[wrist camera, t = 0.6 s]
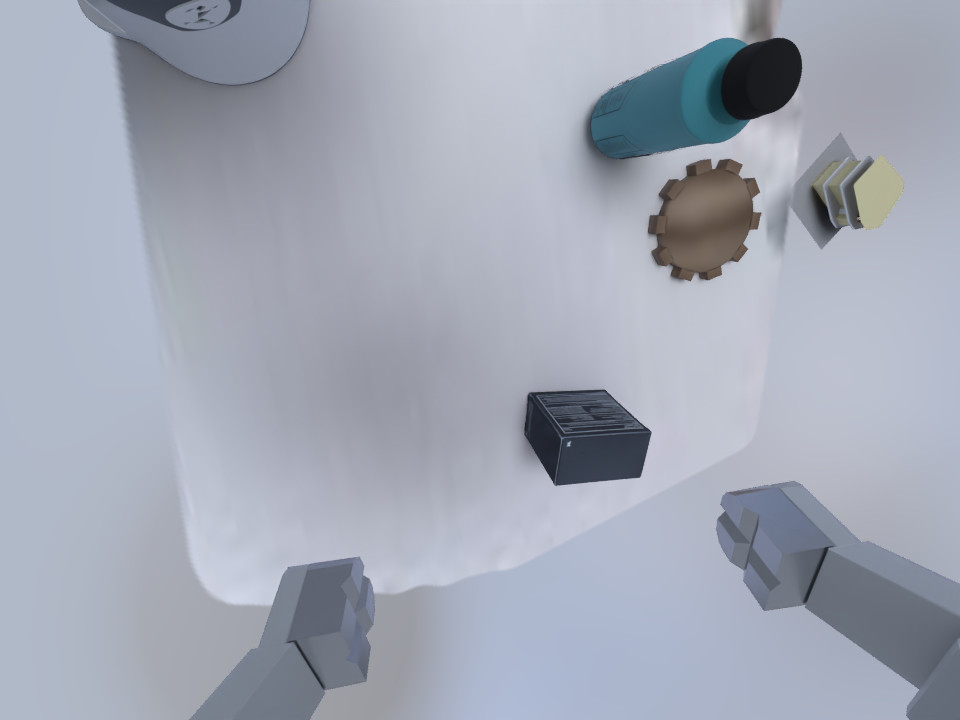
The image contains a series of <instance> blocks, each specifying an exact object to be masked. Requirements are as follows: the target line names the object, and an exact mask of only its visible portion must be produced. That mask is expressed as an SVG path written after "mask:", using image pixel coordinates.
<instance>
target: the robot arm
mask: <svg viewBox="0 0 960 720" xmlns="http://www.w3.org/2000/svg"><path fill="white" fill-rule="evenodd" d="M78 2H79V5H80V7H81V9H82V11H83V13H84V14H85V16H86V17H87V18H88V19H89V20H90V21H92V22H93V23H94V24H95V25H97V26H98V27H99V28H101V29H103V30H105V31H107V32H109V33H112V34H114V35H117V36H120V37H123V38H126V39H130V40H133V41H137V42H139V43H141V44H142V45H144V46H146V47H147V48H149V49H150V50H152V51H153V52H154V53H156V54H157V55H158V56H160V57H161V58H162V59H164V60H165V61H167V62H168V63H170V64H171V65H173V66H174V67H176V68H178V69H179V70H181V71H183V72H185V73H187V74H189V75H192V76H194V77H196V78H199V79H202V80H205V81H209V82H213V83H219V84H230V85H235V84H246V83H251V82H255V81H258V80H261V79H263V78H265V77H267V76H269V75H271V74H273V73H274V72H276V71H277V70H278V69H280V68H281V67H282V66H283V65H284V64H285V63H286V62H287V61H288V60H289V59H290V58H291V56H292V55H293V54H294V52H295V50H296V49H297V47H298V45H299V43H300V41H301V39H302V36H303V34H304V31H305V27H306V23H307V18H308V11H309V2H310V0H78ZM720 505H721V506H722V507H723V509H724V510H725V512H724V513H723V514H722V515H721V516H720V517H719V518H718V520H717V527H716V531H717V535H718V540H719V543H720V545H721V547H722V549H723V551H724V553H725V554H726V556H727V558H728V559H729V561H730V562H732V563H733V564H735V565H736V566H738V567H739V568H741V569H743V570H744V579H743V581H744V583H745V584H746V585H747V587H748V588H749V589H750V591H751V593H752V594H753V595H754V597H755V598H756V600H757V601H758V603H759V604H760V606H761V607H762V609H763V610H764V611H767V610H774V609H781V608H788V607H794V606H801V605H806V606H805V608H807V609H808V610H809V611H811V612H812V613H813V614H815V615H816V616H818V617H819V618H820V619H822V620H823V621H825V622H826V623H827V624H829V625H830V626H832V627H833V628H834V629H836V630H837V631H839V632H840V633H841V634H843V635H844V636H846V637H847V638H849V639H850V640H851V641H853V642H854V643H856V644H857V645H858V646H860V647H861V648H862V649H864V650H865V651H866V652H868V653H870V654H871V655H872V656H873V657H875V658H876V659H878V660H879V661H880V662H882V663H883V664H885V665H886V666H887V667H889V668H890V669H892V670H893V671H894V672H896V673H897V674H899V675H900V676H902V677H903V678H904V679H906V680H907V681H909V682H910V683H911V684H913V685H914V686H915V687H917V688H918V689H920V690H919V691H918V692H917V694H916V695H915V697H914V698H913V699H912V701H911V702H910V704H909V705H908V706H907V713H906V716H907V717H908V718H909V720H960V584H959V583H957V582H955V581H953V580H950V579H948V578H946V577H944V576H942V575H940V574H938V573H935V572H933V571H931V570H929V569H927V568H925V567H923V566H921V565H918V564H916V563H914V562H912V561H910V560H908V559H906V558H904V557H901V556H899V555H897V554H895V553H893V552H891V551H889V550H886V549H884V548H882V547H880V546H878V545H876V544H874V543H872V542H869V541H867V542H861V541H860V540H859V539H858V538H857V537H855V535H854V534H852V533H851V532H850V531H849V530H848V529H847V528H846V527H845V526H844V525H843V524H842V523H841V522H840V521H839V520H838V519H837V518H836V517H835V516H834V515H833V514H832V513H830V511H829V510H828V509H827V508H825V507H824V506H823V505H822V504H821V503H820V502H819V501H818V500H817V499H816V498H815V497H814V496H813V495H812V494H811V493H810V492H809V491H808V490H807V489H806V488H804V486H803V485H801V484H800V483H798V482H795V481H791V482H785V483H779V484H773V485H764V486H759V487H753V488H748V489H743V490H737V491H733V492H727V493H725V494H724V495H723V497H722V500H721V504H720ZM363 570H364V565H363V563H362V561H361V558H360V557H354V558H347V559H340V560H333V561H326V562H319V563H312V564H306V565H299V566H293V567H288V569H287V570H286V571H285V573H284V574H283V576H282V579H281V582H280V585H279V588H278V591H277V594H276V597H275V600H274V603H273V605H272V608H271V612H270V614H269V617H268V621H267V623H266V626H265V629H264V632H263V635H262V638H261V641H260V645H259V647H258V648H255V649H251V650H250V651H249V652H248V653H247V655H246V656H245V657H244V658H243V659H242V660H241V661H240V662H239V664H238V665H237V666H236V667H235V668H234V669H233V670H232V671H231V673H230V674H229V675H228V676H227V677H226V678H225V679H224V681H223V682H222V683H221V684H220V685H219V686H218V687H217V689H216V690H215V691H214V692H213V693H212V694H211V695H210V697H209V698H208V699H207V700H206V701H205V702H204V704H203V705H202V706H201V707H200V708H199V709H198V710H197V711H196V713H195V714H194V715H193V716H192V717H191V718H190V719H189V720H310V718H311V716H312V715H313V713H314V711H315V710H316V708H317V706H318V705H319V703H320V701H321V699H322V698H323V696H324V694H325V692H324V690H329V689H333V688H338V687H343V686H348V685H352V684H357V683H362V682H366V679H367V671H368V663H369V655H370V644H369V642H368V640H367V638H366V634H367V633H368V631H369V630H370V628H371V627H372V625H373V621H374V612H375V606H374V592H373V587H372V584H371V582H370V579H369V578H367V577H365V576H363Z"/></svg>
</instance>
